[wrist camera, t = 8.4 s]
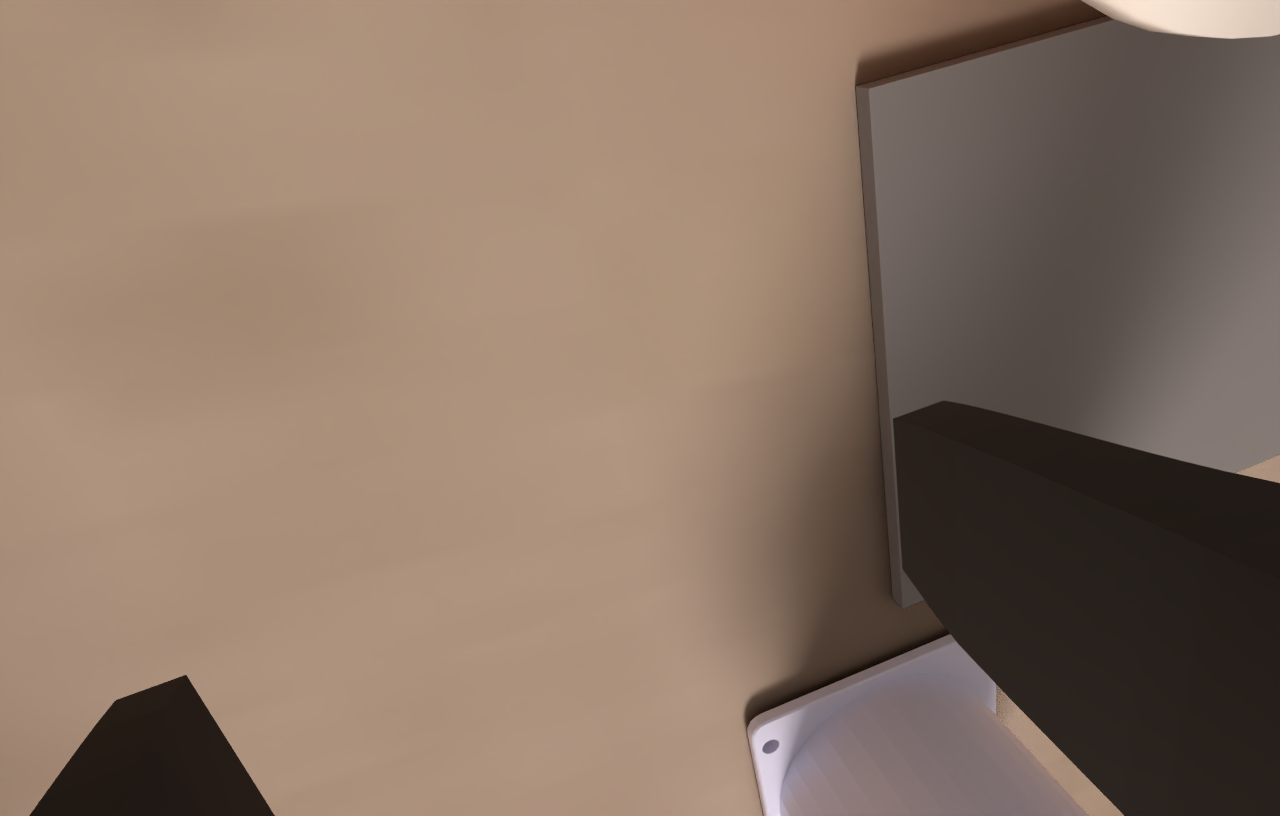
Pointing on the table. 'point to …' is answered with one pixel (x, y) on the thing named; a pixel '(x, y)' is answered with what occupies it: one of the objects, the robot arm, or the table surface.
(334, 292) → the table surface
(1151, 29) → the lid
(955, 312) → the mat
